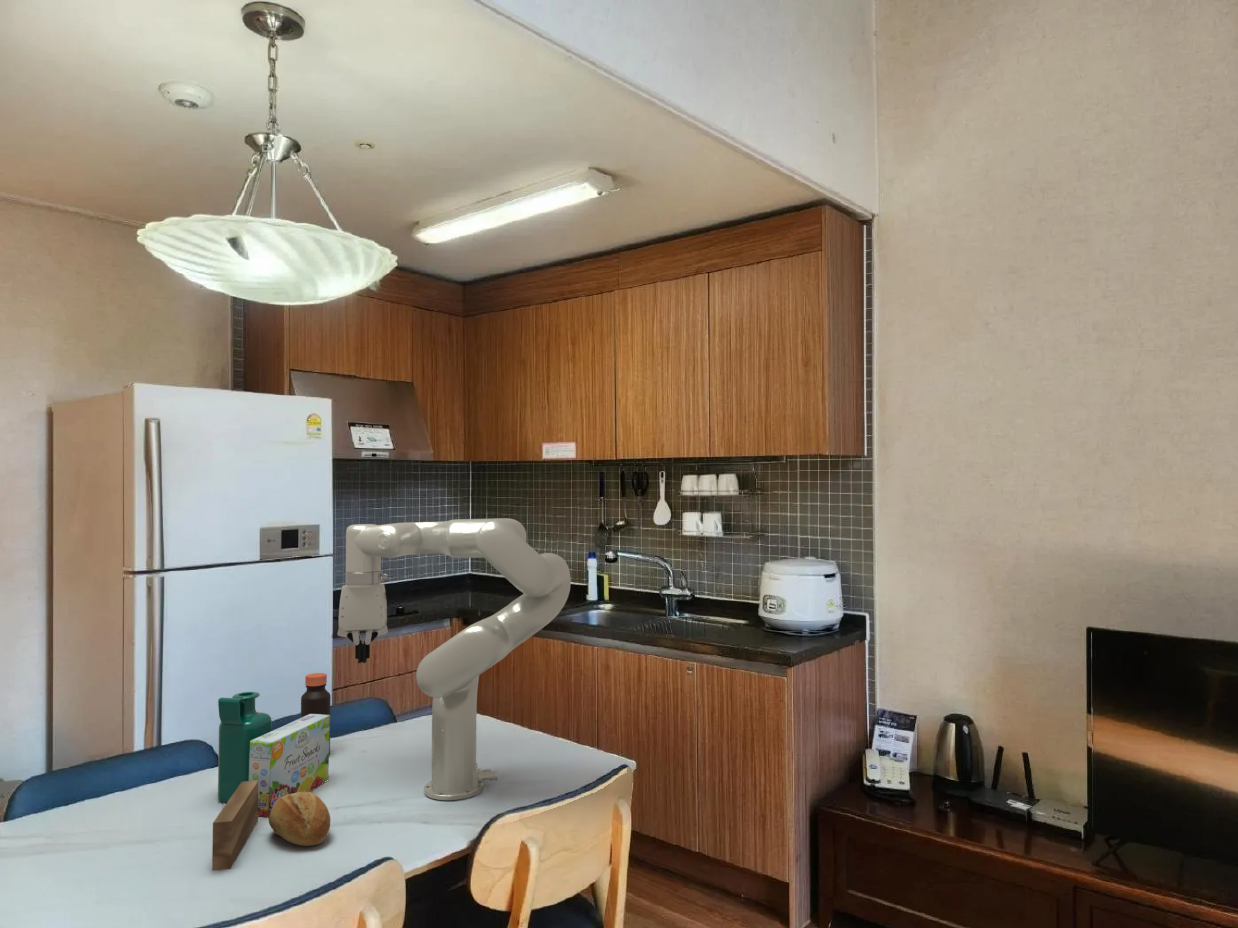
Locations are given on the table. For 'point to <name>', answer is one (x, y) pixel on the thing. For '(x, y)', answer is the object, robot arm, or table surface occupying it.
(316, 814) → the bread roll
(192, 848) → the table surface
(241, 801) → the walnut board
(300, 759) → the snack box
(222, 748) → the pitcher
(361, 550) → the robot arm
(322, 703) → the bottle
